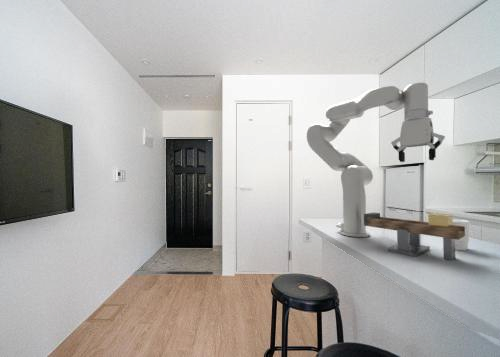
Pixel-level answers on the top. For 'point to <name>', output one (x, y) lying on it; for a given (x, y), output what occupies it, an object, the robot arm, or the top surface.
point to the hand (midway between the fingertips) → (416, 160)
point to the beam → (413, 226)
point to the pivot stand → (408, 243)
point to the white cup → (463, 242)
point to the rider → (440, 220)
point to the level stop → (449, 248)
